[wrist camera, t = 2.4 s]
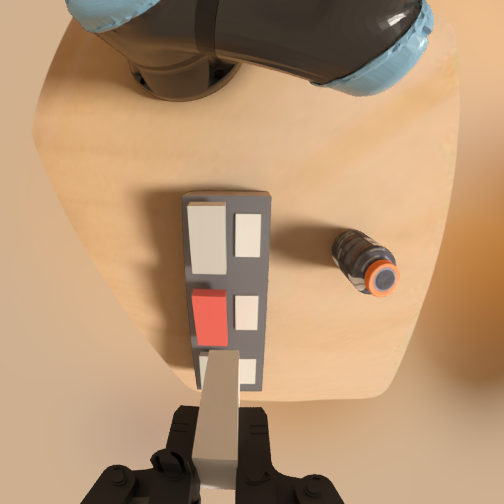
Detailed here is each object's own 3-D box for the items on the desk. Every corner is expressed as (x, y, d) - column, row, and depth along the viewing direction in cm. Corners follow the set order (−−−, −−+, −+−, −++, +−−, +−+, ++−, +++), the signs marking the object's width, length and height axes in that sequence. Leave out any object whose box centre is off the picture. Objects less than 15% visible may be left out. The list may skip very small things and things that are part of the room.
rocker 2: (200, 351, 37) (199, 356, 35) (228, 352, 37) (227, 357, 35) (203, 396, 38) (202, 401, 36) (229, 397, 38) (228, 403, 36)
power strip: (190, 191, 35) (180, 196, 30) (268, 191, 36) (272, 197, 30) (201, 369, 44) (196, 393, 39) (260, 370, 45) (262, 395, 39)
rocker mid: (193, 288, 32) (191, 296, 31) (226, 289, 32) (225, 297, 31) (199, 337, 36) (198, 345, 35) (227, 338, 36) (227, 346, 35)
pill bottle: (334, 273, 39) (362, 312, 29) (327, 234, 38) (356, 263, 27) (371, 262, 39) (408, 296, 28) (366, 224, 37) (406, 248, 26)
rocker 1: (189, 201, 29) (187, 206, 28) (225, 201, 29) (224, 206, 28) (194, 267, 33) (192, 273, 32) (226, 268, 33) (225, 274, 32)
